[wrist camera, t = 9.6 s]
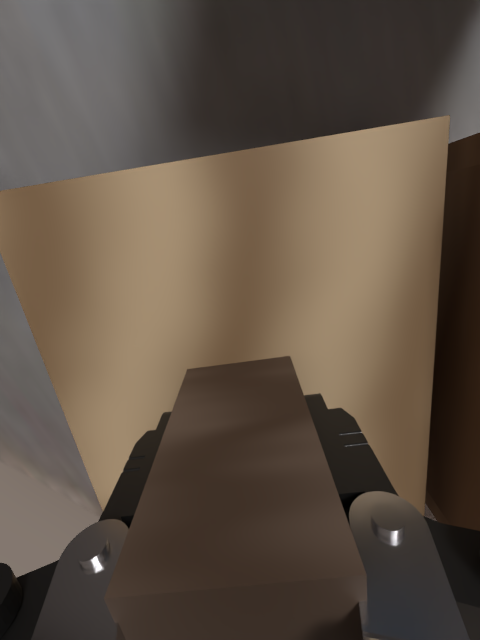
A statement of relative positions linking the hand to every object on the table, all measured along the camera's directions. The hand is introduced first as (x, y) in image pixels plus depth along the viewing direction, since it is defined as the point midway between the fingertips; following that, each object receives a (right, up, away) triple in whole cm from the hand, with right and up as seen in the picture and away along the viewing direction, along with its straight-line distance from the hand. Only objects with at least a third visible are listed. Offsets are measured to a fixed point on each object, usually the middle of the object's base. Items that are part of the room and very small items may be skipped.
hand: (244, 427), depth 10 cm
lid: (0, +1, +2) cm, 2 cm away
